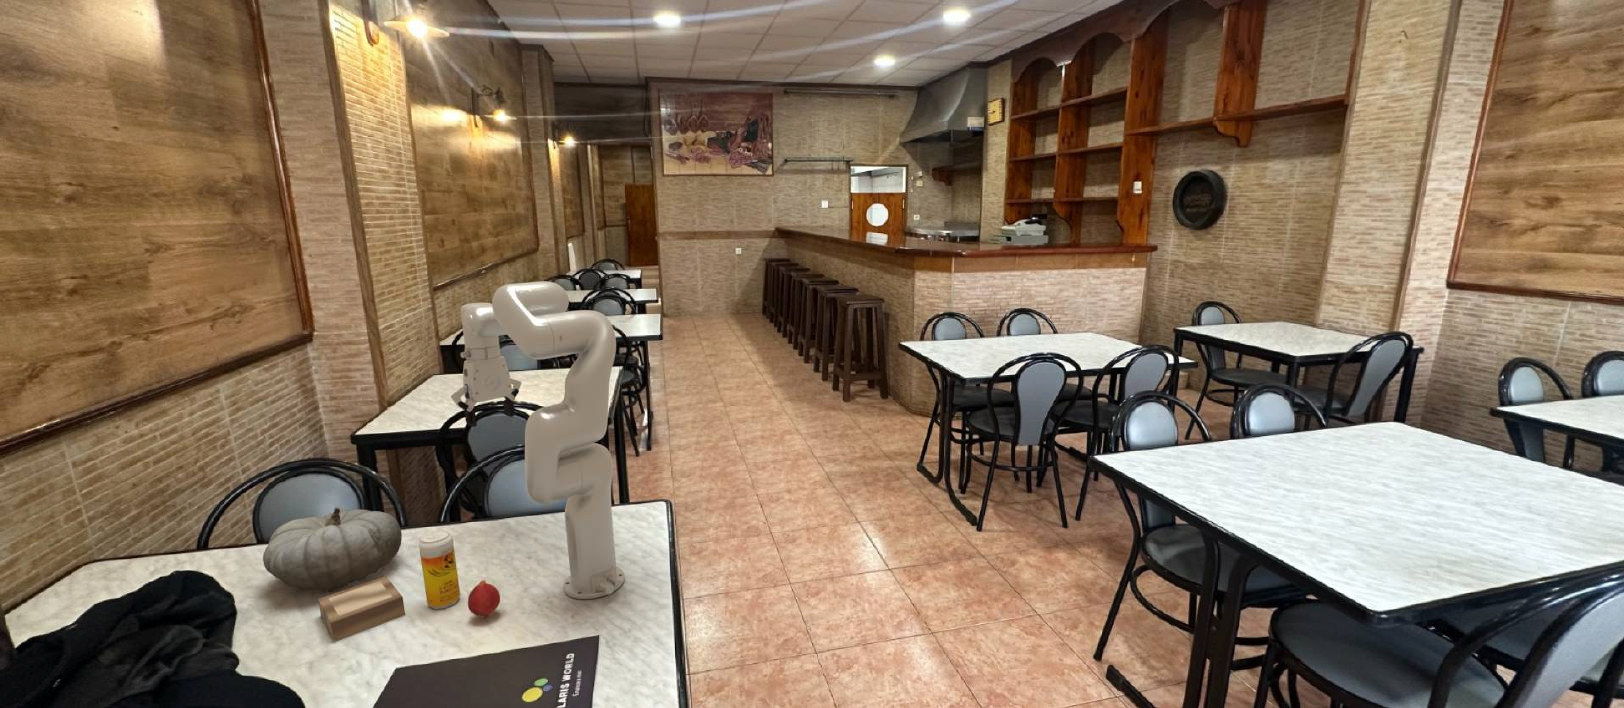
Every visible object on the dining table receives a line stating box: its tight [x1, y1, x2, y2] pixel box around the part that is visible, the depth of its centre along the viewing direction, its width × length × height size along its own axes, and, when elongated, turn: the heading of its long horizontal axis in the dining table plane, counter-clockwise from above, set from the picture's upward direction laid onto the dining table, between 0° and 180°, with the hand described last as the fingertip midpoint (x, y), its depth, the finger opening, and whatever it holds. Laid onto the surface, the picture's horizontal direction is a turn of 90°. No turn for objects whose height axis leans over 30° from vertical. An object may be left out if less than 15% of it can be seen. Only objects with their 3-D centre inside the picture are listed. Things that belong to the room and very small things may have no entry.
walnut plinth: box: [317, 575, 406, 643], centre depth 134 cm, size 12×12×4 cm
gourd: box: [262, 506, 403, 592], centre depth 148 cm, size 25×25×17 cm
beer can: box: [418, 529, 461, 610], centre depth 138 cm, size 6×6×15 cm
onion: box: [467, 579, 501, 618], centre depth 133 cm, size 6×6×8 cm
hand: (491, 420), depth 166 cm, fingers open, 9 cm apart
